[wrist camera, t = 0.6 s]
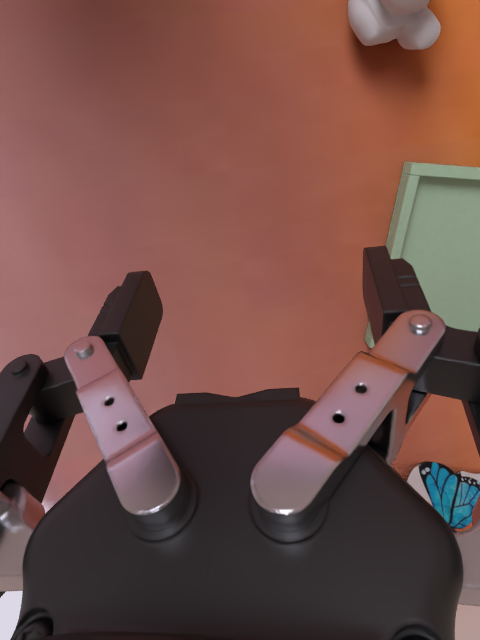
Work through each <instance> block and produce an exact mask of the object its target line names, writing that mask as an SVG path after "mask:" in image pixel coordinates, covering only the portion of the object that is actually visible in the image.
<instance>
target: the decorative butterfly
mask: <svg viewBox="0 0 480 640" xmlns="http://www.w3.org/2000/svg"><path fill="white" fill-rule="evenodd" d="M407 482H408V483H409V484H410V485H411V486H412V487H413V488H414V489H415V490H416V491H417V492H418V493H419V494H420V495H421V496H422V497H423V498H424V499H425V500H426V501H427V502H428V503H430V504H431V505H432V506H433V507H434V508H435V509H436V510H437V511H438V512H439V513H440V514H441V516H442V517H443V518H444V519H445V521H446V522H447V523H448V525H449V527H450V528H451V530H452V532H457V531H455V530H454V529H452V528H455V529H462V528H465V527H466V526H467V525H468V524H470V523H471V522H472V518H471V517H472V511H473V508H474V506H475V503H476V501H477V499H478V496H479V494H480V473H479V474H473V473H468V472H465V471H460V472H458V473H457V475H456V474H455V473H454V472H453V471H452V470H451V469H449V468H448V467H447V466H445V465H442V464H439V463H434V462H424V463H421V464H419V465H418V466H416V467H415V468H414V469H413V470H412V471H411V473H410V475H409V477H408V480H407Z"/></svg>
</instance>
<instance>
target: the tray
mask: <svg viewBox="0 0 480 640" xmlns="http://www.w3.org/2000/svg"><path fill="white" fill-rule="evenodd" d="M385 246H386V247H387V249H388V252H389V255H390V258H391V259H399V258H403V259H404V260H406V261H407V262H408V263H409V264H411V265H412V266H413V269H414V271H415V273H416V277H417V278H418V281H419V283H420V285H421V288H422V290H423V292H424V295H425V297H426V300H427V302H428V304H429V307H430V309H431V312H433V313H435V314H437V315H438V316H440V317H441V318H442V319H443V321H444V322H445V325H447V326H449V327H452V328H456V329H461V330H468V331H475V332H478V330H479V328H480V167H470V166H457V165H444V164H431V163H418V162H404V165H403V170H402V174H401V179H400V183H399V188H398V192H397V196H396V201H395V205H394V210H393V214H392V219H391V223H390V228H389V232H388V237H387V241H386V245H385ZM365 341H366V343H367V344H368V346H369V348H373V347H374V346H375V344H374V340H373V336H372V331H371V327H370V323H369V321H368V326H367V330H366V335H365Z"/></svg>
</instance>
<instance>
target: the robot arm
mask: <svg viewBox="0 0 480 640" xmlns="http://www.w3.org/2000/svg"><path fill="white" fill-rule="evenodd" d="M363 297H364V302H365V306H366V310H367V315H368V319H369V323H370V327H371V331H372V336H373V340H374V344H375V346H374V347H373V348H372V349H371V350H370V352H369V353H366V352H363V351H360V352H358V353H357V354H356V355H355V356H354V357H353V358H352V360H351V361H350V362H349V363H348V364H347V366H346V367H345V368H344V369H343V370H342V372H341V373H340V374H339V375H338V376H337V378H336V379H335V380H334V381H333V382H332V384H331V385H330V386H329V387H328V388H327V389H326V391H325V392H324V393H323V394H322V395H321V397H320V398H319V399H318V400H317V401H314V400H310V399H307V398H302V397H300V393H299V388H283V389H267V390H263V391H259V392H256V393H252V394H248V395H244V396H240V397H229V396H223V395H217V394H212V393H187V394H177V397H176V401H175V404H172V405H169V406H167V407H164V408H162V409H160V410H158V411H157V412H155V413H153V414H152V415H151V416H149V417H148V415H147V413H146V411H145V410H144V408H143V406H142V405H141V403H140V401H139V400H138V398H137V396H136V395H135V393H134V391H133V389H132V388H131V386H130V384H129V382H130V380H141V379H142V377H143V374H144V371H145V368H146V365H147V362H148V359H149V356H150V353H151V350H152V347H153V344H154V341H155V338H156V334H157V331H158V328H159V325H160V322H161V319H162V315H163V307H162V302H161V299H160V297H159V294H158V292H157V289H156V286H155V284H154V281H153V278H152V276H151V274H150V272H149V271H139V272H130V273H128V274H127V276H126V278H125V280H124V282H123V284H122V286H117V287H116V288H115V289H114V290H113V291H112V292H111V293H110V294H109V295H108V297H107V299H106V301H105V303H104V306H103V307H102V309H101V311H100V314H99V315H98V316H97V318H96V320H95V322H94V324H93V326H92V328H91V330H90V332H89V334H88V336H87V337H83V338H81V339H79V340H77V341H75V342H74V343H72V344H71V345H70V346H69V347H68V348H67V350H66V351H65V354H64V357H61V358H58V359H55V360H51V361H48V362H45V363H43V361H42V360H41V359H40V357H39V356H37V355H35V354H28V355H23V356H21V357H18V358H16V359H14V360H13V361H11V362H10V363H9V364H8V365H6V366H5V368H4V369H3V370H2V372H1V373H0V597H1V596H2V595H3V594H4V593H5V592H6V591H23V596H22V604H21V610H20V615H19V620H18V623H17V626H16V629H15V631H14V634H13V636H12V638H11V640H455V632H454V631H455V617H456V610H457V605H458V604H462V605H472V606H480V494H479V496H478V499H477V501H476V503H475V506H474V508H473V511H472V517H471V518H472V528H470V529H468V530H466V531H462V532H452V530H451V528H450V527H449V525H448V523H447V522H446V521H445V519H444V518H443V517H442V516H441V514H440V513H439V512H438V511H437V510H436V509H435V508H434V507H433V506H432V505H431V504H430V503H428V502H427V501H426V500H425V499H424V498H423V497H422V496H421V495H420V494H419V493H418V492H417V491H416V490H415V489H414V488H413V487H412V486H411V485H410V484H409V483H408V482H407V481H406V480H404V479H403V478H402V477H401V476H400V475H399V474H398V473H397V472H396V471H395V470H394V469H393V468H392V467H391V464H392V463H393V461H394V459H395V458H396V456H397V454H398V452H399V450H400V448H401V445H402V442H403V440H404V437H405V435H406V433H407V431H408V430H409V428H410V427H411V425H412V423H413V422H414V420H415V419H416V417H417V416H418V414H419V413H420V411H421V409H422V408H423V406H424V405H425V403H426V402H427V400H428V398H429V397H430V395H431V394H436V395H441V396H446V397H450V398H455V399H460V400H462V403H463V406H464V409H465V413H466V416H467V419H468V422H469V425H470V428H471V431H472V434H473V437H474V441H475V444H476V447H477V450H478V453H479V456H480V328H479V330H478V332H475V331H468V330H461V329H456V328H452V327H449V326H447V325H445V322H444V321H443V319H442V318H441V317H440V316H438V315H437V314H435V313H433V312H431V309H430V307H429V304H428V302H427V300H426V297H425V295H424V292H423V290H422V288H421V285H420V283H419V281H418V278H417V277H416V273H415V271H414V269H413V266H412V265H411V264H409V263H408V262H407V261H406V260H404V259H403V258H399V259H391V258H390V255H389V252H388V249H387V247H386V246H377V247H368V248H364V250H363ZM82 412H84V413H85V415H86V418H87V420H88V422H89V425H90V427H91V430H92V432H93V434H94V437H95V439H96V441H97V444H98V446H99V448H100V451H101V453H102V455H103V458H104V459H103V460H102V461H101V462H100V463H99V464H98V465H96V466H95V467H94V468H93V469H92V470H91V471H90V472H89V473H88V474H87V475H86V476H85V477H84V478H83V479H82V480H80V481H79V482H78V483H77V484H76V485H75V486H74V487H73V488H72V489H71V490H70V491H69V492H68V493H67V494H66V495H64V496H63V497H62V498H61V499H60V500H59V501H58V502H57V503H56V504H55V505H54V506H53V507H52V508H51V509H50V510H49V511H48V512H47V513H46V514H45V510H44V507H43V505H42V504H41V503H42V501H43V498H44V495H45V493H46V490H47V488H48V485H49V482H50V480H51V477H52V474H53V472H54V469H55V467H56V464H57V461H58V459H59V456H60V453H61V451H62V448H63V446H64V443H65V440H66V438H67V435H68V432H69V430H70V427H71V425H72V422H73V419H74V417H75V415H76V414H79V413H82ZM28 414H30V415H31V416H32V417H31V419H30V421H29V424H28V426H27V428H26V430H25V432H23V427H24V423H25V421H26V419H27V417H28Z"/></svg>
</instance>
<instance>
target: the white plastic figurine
mask: <svg viewBox="0 0 480 640" xmlns="http://www.w3.org/2000/svg"><path fill="white" fill-rule="evenodd" d="M430 1H431V0H349V1H348V19H349V24H350V26H351V28H352V30H353V31H354V33H355V34H356V36H357V37H358V39H359V40H360V42H361V43H362V44H363V45H366V46H372V45H377V44H380V43H387V42H389V41H391V40H393V39H397V40H398V42H399V44H400V45H401V46H402V47H403V48H405V49H408V50H413V49H418V50H422V49H426V48H428V47H430V46H431V45H433V43H434V42H435V41H436V40H437V38H438V37H439V34H440V31H441V26H440V23H439V21H438V20H437V18H436V16H435V15H434V14H433V12H432V11H431V10H430V9H428V7H427V5H428V4H429V2H430Z"/></svg>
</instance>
